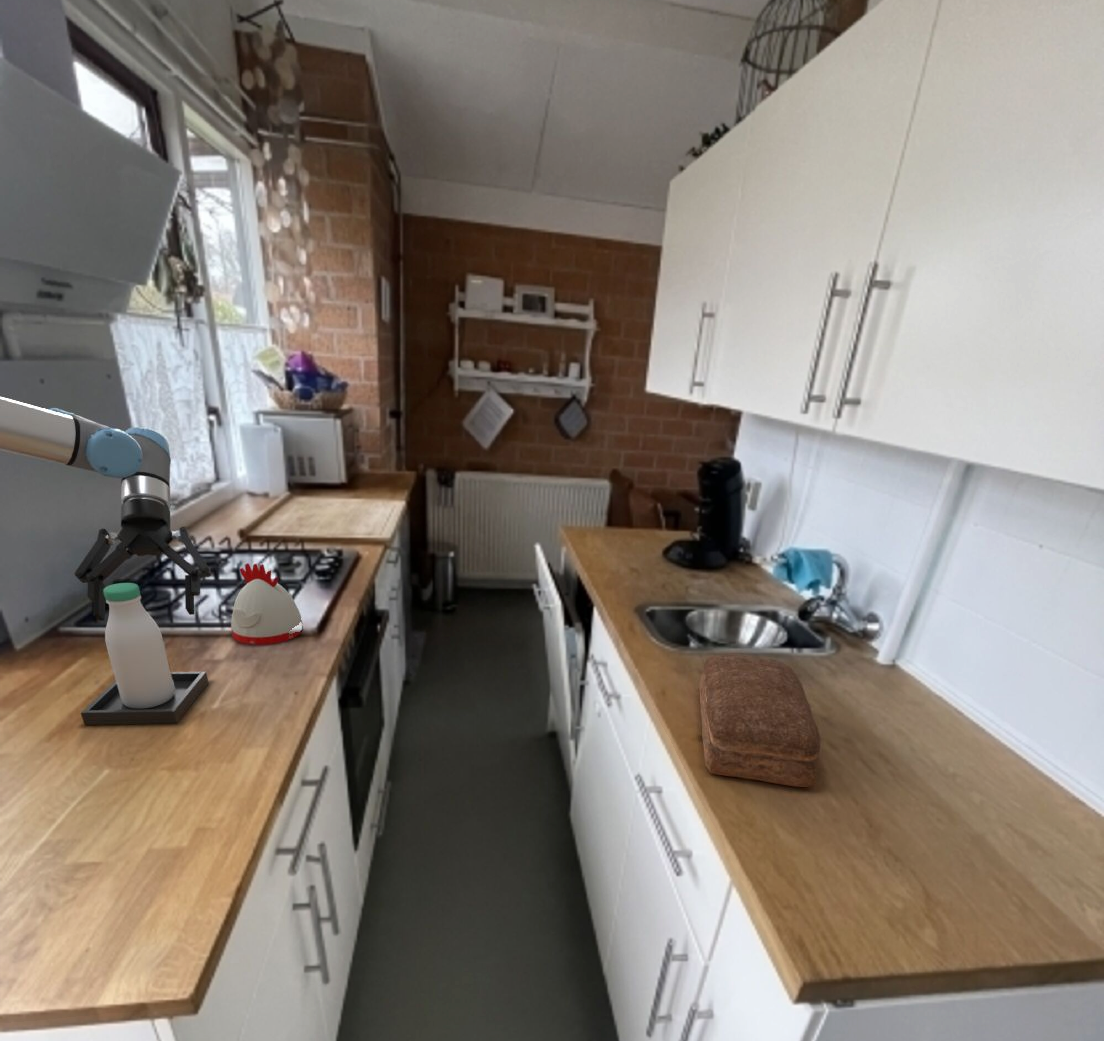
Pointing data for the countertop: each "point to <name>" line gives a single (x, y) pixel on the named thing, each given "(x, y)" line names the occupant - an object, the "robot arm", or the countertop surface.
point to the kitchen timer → (263, 610)
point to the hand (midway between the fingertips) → (145, 614)
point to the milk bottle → (136, 650)
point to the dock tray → (115, 712)
